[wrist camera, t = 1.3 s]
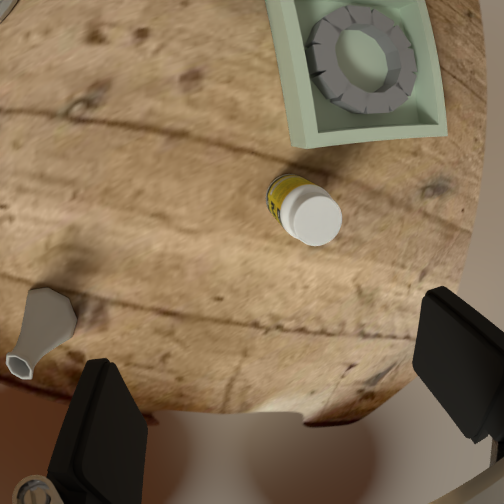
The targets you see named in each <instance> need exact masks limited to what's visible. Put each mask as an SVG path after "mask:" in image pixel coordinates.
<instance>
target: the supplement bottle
mask: <svg viewBox="0 0 504 504" xmlns="http://www.w3.org/2000/svg"><path fill="white" fill-rule="evenodd" d="M266 204H267V207H268V209H269V211H270V212H271V214H272V215H273V216H274V217H275V218H276V220H277V221H278V222H279V223H280V224H281V225H282V227H283V228H284V229H285V230H286V231H287V232H288V233H289V234H290V235H291V236H293V237H295V238H297V239H300V240H301V241H302V242H304V243H305V244H308V245H311V246H320V245H323V244H326V243H328V242H329V241H331V240H332V239H333V238H334V237H335V236H336V235H337V233H338V232H339V230H340V227H341V224H342V213H341V210H340V207H339V206H338V204H337V203H336V202H335V201H334V200H333V199H332V198H331V196H330V195H329V193H328V192H327V191H325V190H324V189H323V188H321V187H320V186H318V185H316V184H314V183H312V182H310V181H308V180H306V179H304V178H302V177H300V176H298V175H295V174H285V175H282V176H280V177H278V178H276V179H275V180H274V181H273V182H272V183H271V184H270V186H269V187H268V190H267V193H266Z"/></svg>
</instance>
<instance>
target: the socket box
mask: <svg viewBox="0 0 504 504" xmlns="http://www.w3.org/2000/svg"><path fill="white" fill-rule="evenodd" d="M265 3H266V8H267V12H268V17H269V22H270V27H271V32H272V37H273V42H274V47H275V52H276V57H277V63H278V68H279V74H280V79H281V85H282V91H283V96H284V102H285V108H286V114H287V121H288V127H289V133H290V140H291V146H294V147H299V148H304V149H311V148H318V147H326V146H333V145H342V144H350V143H359V142H369V141H379V140H391V139H403V138H418V137H436V136H448V134H447V121H446V111H445V101H444V93H443V86H442V79H441V72H440V66H439V60H438V55H437V50H436V45H435V40H434V35H433V31H432V27H431V22H430V18H429V14H428V11H427V7H426V3H425V0H265Z"/></svg>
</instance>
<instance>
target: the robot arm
mask: <svg viewBox="0 0 504 504" xmlns="http://www.w3.org/2000/svg"><path fill="white" fill-rule="evenodd" d="M17 1H18V0H0V23H1V22H2V20H3V19H4V18H5V17H6V16H7V15H8V14H9V12H10V11H11V9H12V8H13V7H14V5H15V4H16V2H17ZM412 364H413V368H414V371H415V372H416V373H417V375H418V376H419V377H420V378H421V380H422V381H423V382H424V383H425V385H426V386H427V387H428V389H429V390H430V391H431V392H432V394H433V395H434V396H435V397H436V399H437V400H438V401H439V403H440V404H441V405H442V407H443V408H444V409H445V410H446V411H447V413H448V414H449V416H450V417H451V418H452V420H453V421H454V422H455V424H456V425H457V426H458V428H459V429H460V430H461V432H462V433H463V434H464V436H465V437H466V438H469V439H470V438H471V440H472V441H473V442H474V444H476V443H478V442H480V441H481V440H483V439H484V438H486V437H487V436H488V434H490V436H491V437H492V448H491V458H490V467H489V468H488V469H486V470H485V471H483V472H482V473H480V474H479V475H477V476H476V477H474V478H473V479H471V480H469V481H468V482H466V483H465V484H463V485H461V486H460V487H458V488H456V489H455V490H453V491H451V492H449V493H447V494H446V495H444V496H442V497H440V498H439V499H437V500H435V501H433V502H431V503H429V504H504V332H503V331H501V330H500V329H499V328H498V327H496V326H495V325H494V324H493V323H492V322H490V321H489V320H488V319H487V318H485V317H484V316H483V315H481V314H480V313H479V312H478V311H476V310H475V309H474V308H473V307H471V306H470V305H469V304H467V303H466V302H465V301H463V300H462V299H461V298H460V297H458V296H457V295H456V294H454V293H453V292H452V291H450V290H449V289H448V288H446V287H444V286H440V287H437V288H434V289H431V290H428V291H427V292H426V294H425V296H424V297H423V299H422V304H421V312H420V319H419V326H418V332H417V338H416V344H415V350H414V355H413V361H412ZM147 435H148V428H147V423H146V421H145V419H144V417H143V416H142V414H141V412H140V410H139V409H138V407H137V405H136V403H135V401H134V399H133V398H132V396H131V394H130V392H129V390H128V388H127V386H126V384H125V382H124V380H123V378H122V376H121V374H120V372H119V370H118V368H117V366H116V365H115V363H113V362H111V363H110V361H109V360H108V359H106V358H102V359H92V360H88V361H87V363H86V365H85V367H84V370H83V372H82V375H81V377H80V380H79V382H78V385H77V387H76V390H75V392H74V395H73V397H72V400H71V403H70V405H69V408H68V411H67V413H66V416H65V419H64V422H63V424H62V427H61V430H60V433H59V436H58V439H57V442H56V445H55V448H54V451H53V454H52V457H51V460H50V464H49V467H48V470H47V471H48V474H47V477H44V476H40V475H31V476H29V477H26V478H24V479H23V480H22V481H20V482H19V483H18V485H17V486H16V487H15V490H14V492H13V499H12V501H13V504H141V500H142V486H143V474H144V463H145V453H146V444H147Z"/></svg>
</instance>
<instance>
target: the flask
mask: <svg viewBox="0 0 504 504" xmlns="http://www.w3.org/2000/svg"><path fill="white" fill-rule="evenodd" d="M76 322H77V318H76V316H75V313H74V311H73V308H72V306H71V303H70V300H69V298H67V297H65V296H63V295H61V294H59V293H57V292H55V291H53V290H51V289H50V288H48V287H47V288H41V289H34V290H29V291H28V295H27V301H26V306H25V312H24V317H23V322H22V327H21V333H20V335H19V338H18V341H17V344H16V346H15V348H14V349H13V351H12V352H8V353H7V355H6V364H7V366H8V368H9V369H10V371H11V373H12V374H14V375H16V376H18V377H19V378H21V379H32V377H33V369H34V367H35V365H36V363H37V362H38V361H39V360H40V359H41V358H42V357H43V356H44V355H45V354H46V353H48V352H49V351H51V350H52V349H54V348H55V347H57V346H59V345H60V344H62V343H64V342H65V341H67V340H69V339H70V338H72V336H73V333H74V329H75V326H76Z"/></svg>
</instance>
